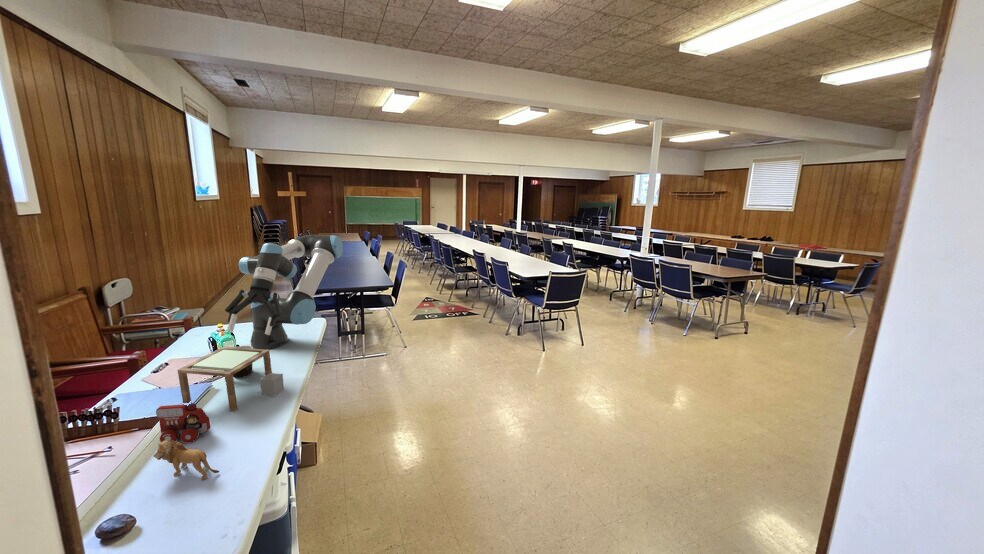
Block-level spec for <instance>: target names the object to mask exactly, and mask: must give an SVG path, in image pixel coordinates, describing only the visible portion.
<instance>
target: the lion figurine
mask: <svg viewBox="0 0 984 554" xmlns="http://www.w3.org/2000/svg"><path fill="white" fill-rule="evenodd" d="M157 445H158V446H157V447H158V448H157V451H156V452H155V453H154V454H153V456H152V457H153V458H155V459H156V460H157V461H160V460H161V459H162V460H163V461H167V463H169V464H172V466H173V468H174V470H175V472H173V476H174V477H177V476H178V475H180V474H182V471H181V469H185V468H187V467H188V465H190V464H192V467H193V468H194V469H195V470H196V471H197V472H198V473H199V474H201V475H202V476H201V480H202V481H204V480H206V479H208V473H207V470H208V471H210V472H212V473H213V474H218V473H219V472H220V470H217V469H213V468H211V465H209V463H208V460H207V453H206V452H205V451H204V450H202V449H194V448H193V449H192V448H187V447H186V446H185V445H184V444H183V443H182V442H179V441H178V440H176V441H173V440H164V441H163V442H161V441H160V442H159V443H158V444H157ZM202 464H203V467H202ZM180 465H181V466H180Z"/></svg>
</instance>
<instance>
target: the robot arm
mask: <svg viewBox="0 0 984 554" xmlns="http://www.w3.org/2000/svg"><path fill="white" fill-rule="evenodd" d="M343 247H344V246H343V241H342V239H341V238H340V237H339V236H338V235H332V234H331V235H329V234H328V235H327V234H326V235H325V234H324V235H323V234H305V235H301V236H299V237H296V238H293V239H291V240H289V241H287V243H285V244H283V245H279V244H276V243H271V242H268V243H267V242H266V243H263V244H262V247H261V248H260V249H261V250H260V251H259V254H258V255H255V256H244V257H241V258H240V259H239V260H238V261H239V262H238V268H239V269H238V270H239V271H240V273H242V274H245V275H250V276H251V275H253V276H252V278H253V279H251V283H250V285H249V286H250V287H249V290H248V291H247V290H244V289H240V290H239V292H238V295H237V296H236V297H235V298H234V299H233V300H232V301H231V302H230V303H229V305H228V306H227V307H226V308H225V309H224V311H225V312H227V313H228V314H229V315H228V318H227V323H228V326H227V330H226V331H227V332H230V333H233V332H234V329H235V325H236V322H237V319H238V315H237V314H238V313H239V312H241V311H242V310H243V309H245V308H247V306H249V305H250V311H251V319H252V321H251V322H252V328H253V330H252V334H251V339H250V346H251V347H253V349H263V350H270V349H274V348H279V347H281V346H283V345H285V344H287V343H288V341H289V338H288V335H287V332H286V331H285V329H284V326H283V324H285V325H286V324H287V325H307V324H308V323H310V322H311V321H312V320H313V318H314V317H315V314H316V309H317V308H316V307H317V305H316V303H315V299H314V297H315V296H314V295H315V294H316V292H317V290H318V288H319V285H320V283H321V281H322V279H323V277H324V275H325V273H326V271H327V269H328V268H329V265H331V264H333V263H334V261H335V259H339V258H341V257H342V256H343V252H344V248H343ZM301 257H311V259H310V260H309V263H308V265H307V266H306V268H305V270H304V271H303V274H302V275H301V278H300V279H299V282H298V283H297V285H296V287H295V289H294V290H291V291H289V293H288V294H287V296H286V297H281V296H280V294H279V293H278V292H274V293H272V291H273V287H274V283H275V281H276V278H277V277H276V276H279V277H281V278H283V279H287V280H289V279H292V278H294V277H295V276H296V274H297V272H298V268H297V266H296V264H295V263H293V261H292V259H294V258H297V259H299V258H301ZM245 297H246V298H245ZM244 298H245V299H244Z"/></svg>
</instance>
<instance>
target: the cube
mask: <svg viewBox="0 0 984 554" xmlns="http://www.w3.org/2000/svg"><path fill="white" fill-rule="evenodd" d="M283 375H284V374H283V373H273V372H272V373H269V374H267V375H266V376H263V377H261V378H260V379H259V382H260V390H261V395H262V396H273V397H276V396H277V395H278V394H280V393H281V392H282V391H283V390H285V387H284V386H285V385H284V376H283ZM279 392H280V393H279Z"/></svg>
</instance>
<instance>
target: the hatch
mask: <svg viewBox="0 0 984 554" xmlns="http://www.w3.org/2000/svg"><path fill="white" fill-rule="evenodd" d="M259 353H260V352H248V351H235V350H222V351H220V352H218V353H216V354H214V355H212V356H210V357H208V358H206V359H204V360H202V361H200V362H198V363H196V364H194V365H193V368H192V369H204V370H216V371H230V370H232V369H234V368H235V367H237V366H239V365H240V364H242V363H244V362H245V361H247V360H249V359H251V358H252V357H254V356H256V355H257V354H259Z"/></svg>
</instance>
